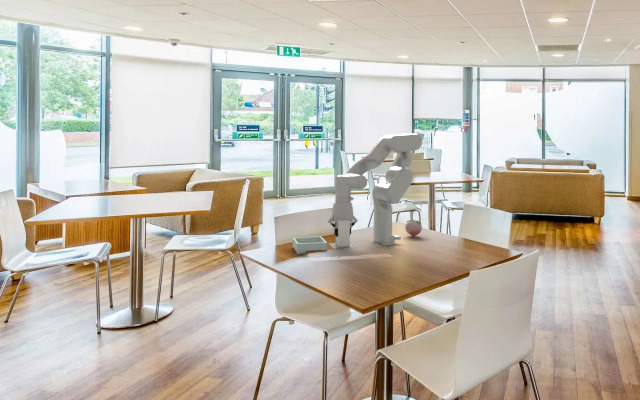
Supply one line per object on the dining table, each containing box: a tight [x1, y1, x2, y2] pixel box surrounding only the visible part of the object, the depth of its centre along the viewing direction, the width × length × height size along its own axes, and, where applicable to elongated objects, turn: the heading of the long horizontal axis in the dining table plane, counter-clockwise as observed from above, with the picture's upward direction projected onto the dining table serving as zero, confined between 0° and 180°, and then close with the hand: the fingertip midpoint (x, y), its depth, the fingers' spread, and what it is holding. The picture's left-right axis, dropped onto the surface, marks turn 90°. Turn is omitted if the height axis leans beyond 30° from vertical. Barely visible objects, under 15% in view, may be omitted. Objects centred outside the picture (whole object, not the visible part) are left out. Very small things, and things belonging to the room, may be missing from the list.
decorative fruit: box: [404, 219, 423, 237], centre depth 280 cm, size 9×8×10 cm
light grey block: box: [335, 220, 351, 247], centre depth 251 cm, size 6×6×13 cm
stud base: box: [328, 241, 358, 250], centre depth 252 cm, size 12×12×5 cm
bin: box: [292, 235, 328, 255], centre depth 248 cm, size 15×15×5 cm
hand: (342, 235), depth 251 cm, fingers closed on light grey block, 5 cm apart
